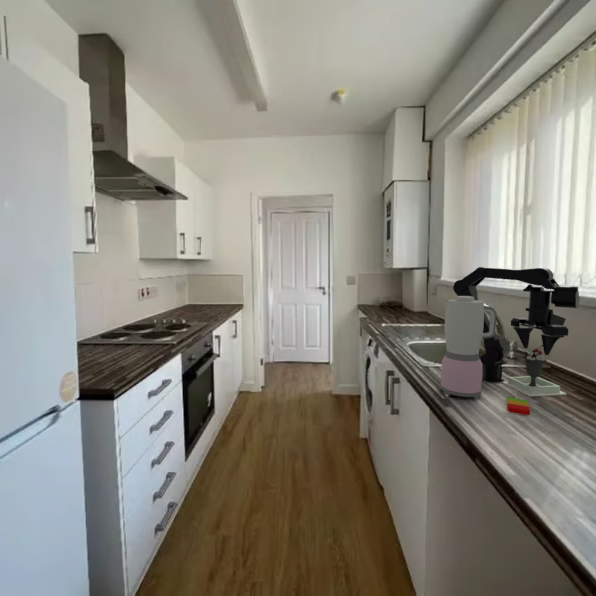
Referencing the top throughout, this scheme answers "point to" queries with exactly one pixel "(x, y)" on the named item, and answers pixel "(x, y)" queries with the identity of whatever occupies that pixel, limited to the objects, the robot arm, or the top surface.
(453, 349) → the blender
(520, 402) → the popsicle
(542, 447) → the top surface
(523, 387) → the holder cell
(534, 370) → the sundae
